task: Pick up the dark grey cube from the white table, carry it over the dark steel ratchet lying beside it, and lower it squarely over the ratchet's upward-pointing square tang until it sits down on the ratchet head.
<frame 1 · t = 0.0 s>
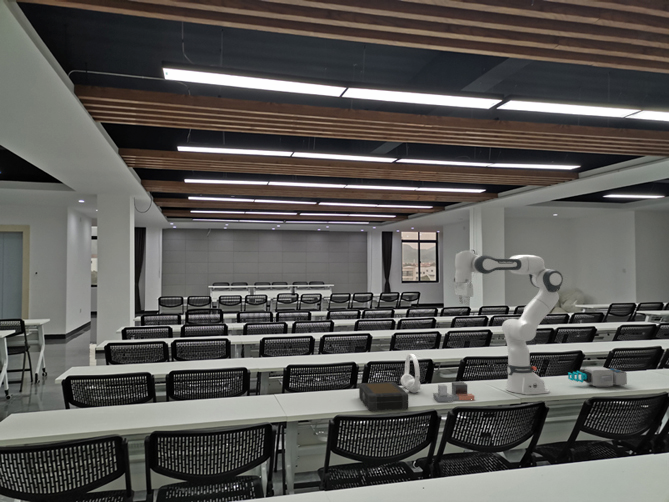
hand: (464, 304, 256), 48 cm above the table, tool pointing down, fingers open, 8 cm apart
headphones: (410, 390, 258), on the table
dark grey cube: (459, 394, 247), on the table
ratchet: (454, 399, 238), on the table
cash box: (382, 404, 232), on the table
toy: (595, 386, 265), on the table
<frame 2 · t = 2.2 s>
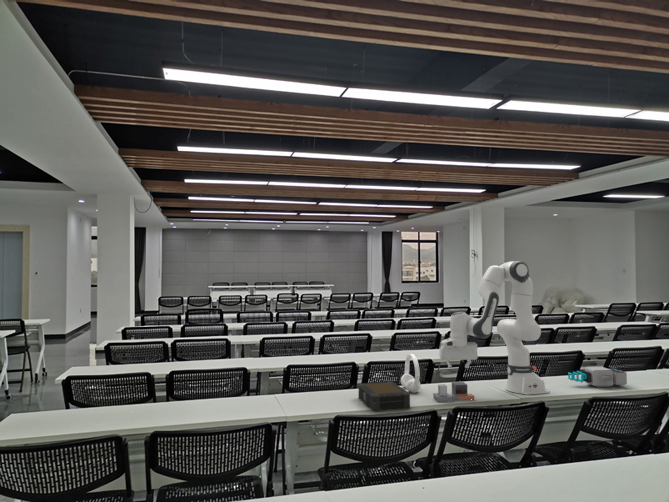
hand: (458, 367, 248), 14 cm above the table, tool pointing down, fingers open, 8 cm apart
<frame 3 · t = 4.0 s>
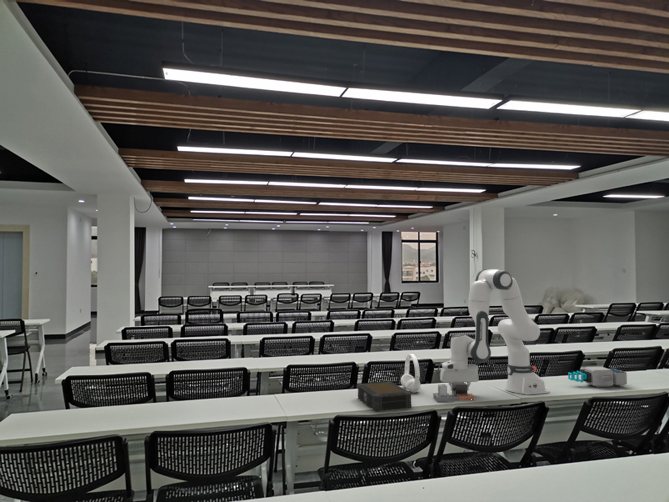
hand: (459, 390, 247), 2 cm above the table, tool pointing down, fingers closed on dark grey cube, 6 cm apart
dark grey cube: (459, 394, 247), on the table, touching gripper
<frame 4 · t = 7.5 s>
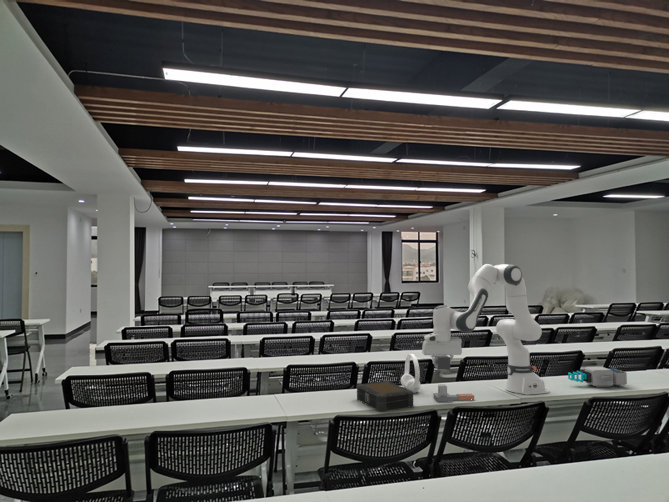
hand: (442, 363, 238), 19 cm above the table, tool pointing down, fingers closed on dark grey cube, 6 cm apart
dark grey cube: (442, 368, 238), point 16 cm above the table, touching gripper
when the fingers open (5 cm above the table, at t = 11.1 s): dark grey cube stays where it is, resting on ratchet.
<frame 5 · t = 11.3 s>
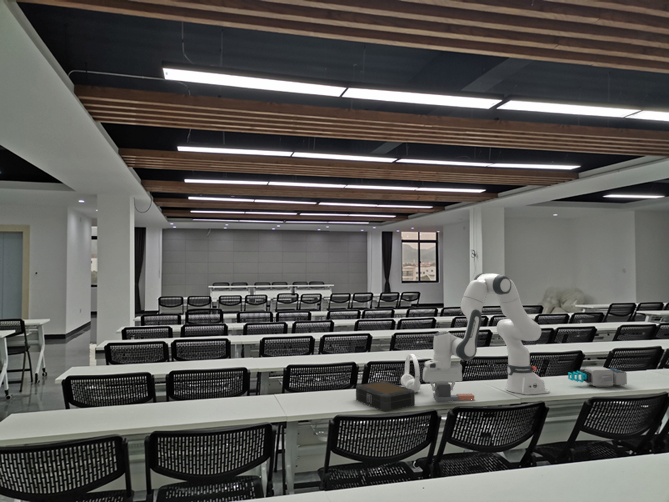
hand: (442, 390, 238), 5 cm above the table, tool pointing down, fingers open, 8 cm apart
dark grey cube: (442, 395, 238), point 2 cm above the table, touching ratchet
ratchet: (454, 399, 238), on the table, touching dark grey cube
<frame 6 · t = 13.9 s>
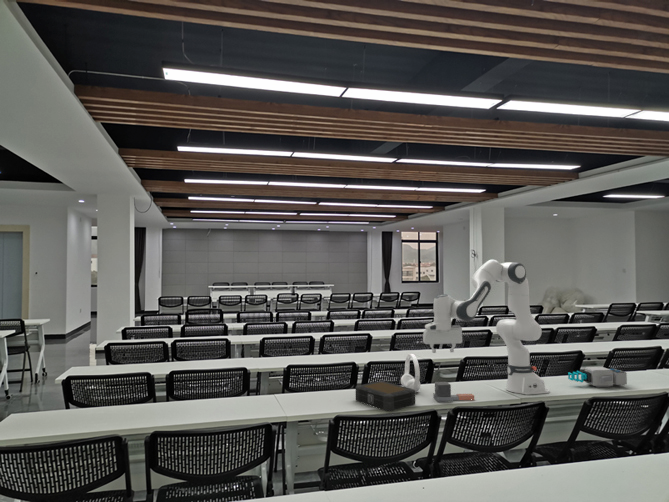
hand: (442, 352, 239), 24 cm above the table, tool pointing down, fingers open, 8 cm apart
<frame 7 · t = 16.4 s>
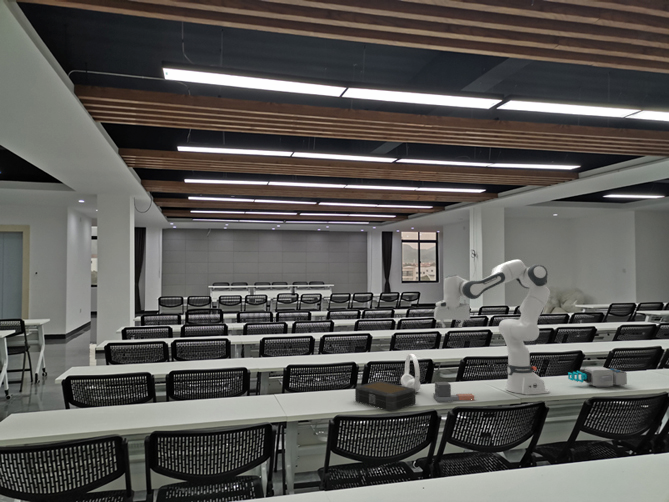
hand: (452, 327, 263), 34 cm above the table, tool pointing down, fingers open, 8 cm apart
at the end: dark grey cube 0.1 cm from the target spot on the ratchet, point 2.5 cm above the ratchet's base; dark grey cube tilted 0°; the gripper is holding nothing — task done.
